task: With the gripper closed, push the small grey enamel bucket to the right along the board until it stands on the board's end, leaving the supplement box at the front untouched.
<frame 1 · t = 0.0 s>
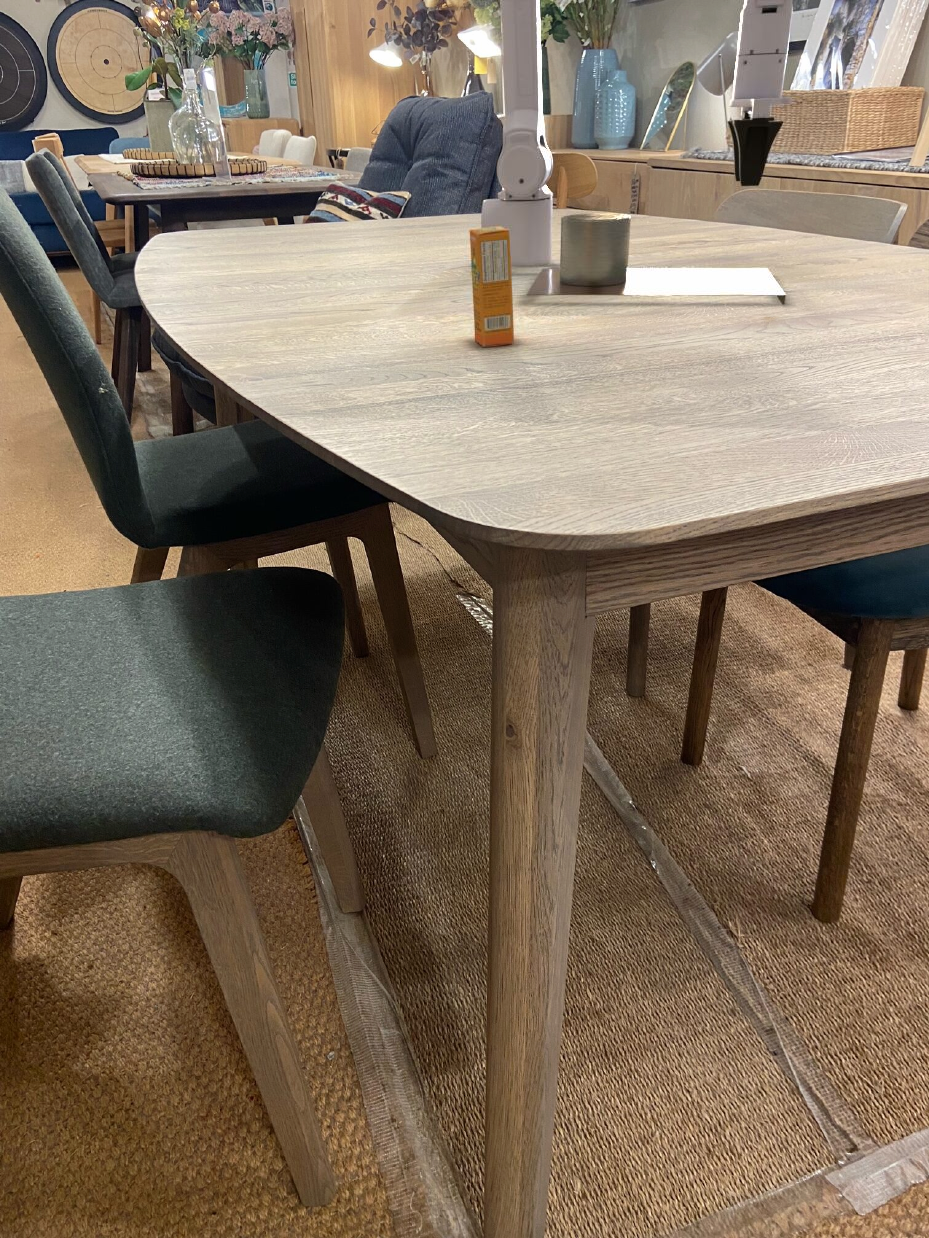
hand: (746, 183, 111), 10 cm above the table, tool pointing down, fingers open, 7 cm apart
supplement box: (492, 344, 84), on the table
board: (652, 289, 105), on the table
bucket: (593, 280, 106), point 1 cm above the table, touching board
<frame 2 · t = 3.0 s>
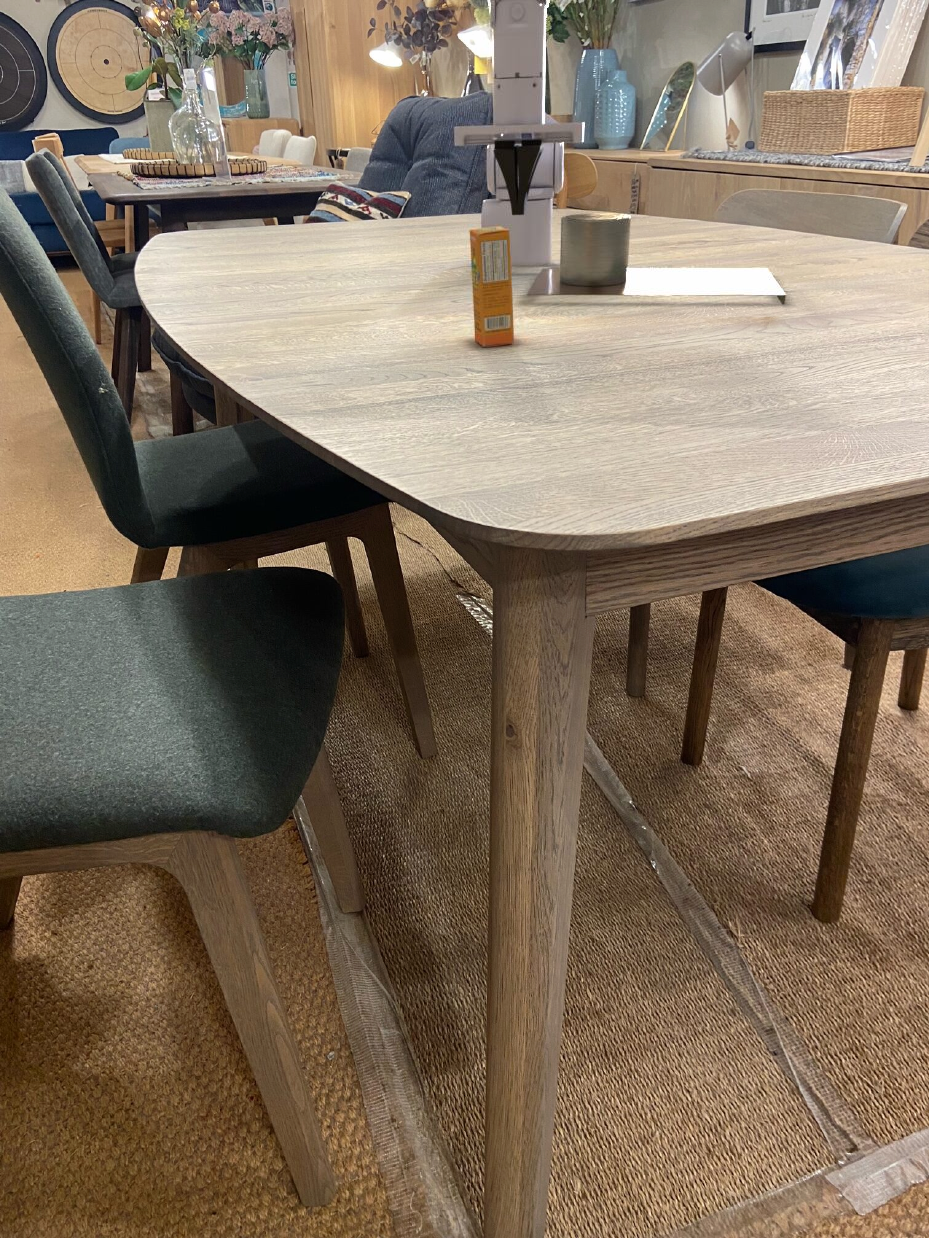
hand: (518, 214, 104), 8 cm above the table, tool pointing down, fingers closed
nothing on the table moved.
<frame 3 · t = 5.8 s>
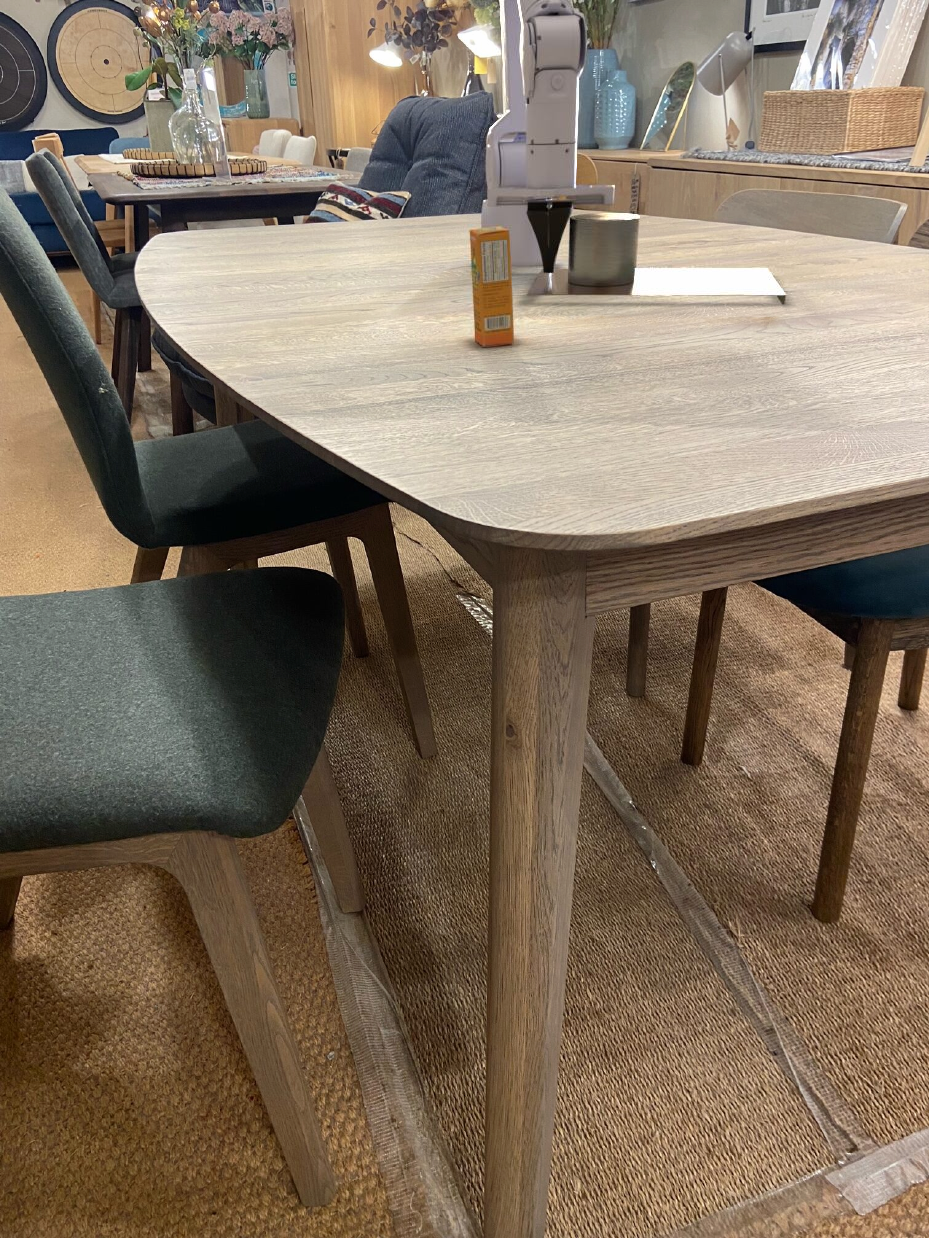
hand: (549, 271, 106), 2 cm above the table, tool pointing down, fingers closed
bucket: (601, 280, 106), point 1 cm above the table, touching board, gripper
everything else where it was.
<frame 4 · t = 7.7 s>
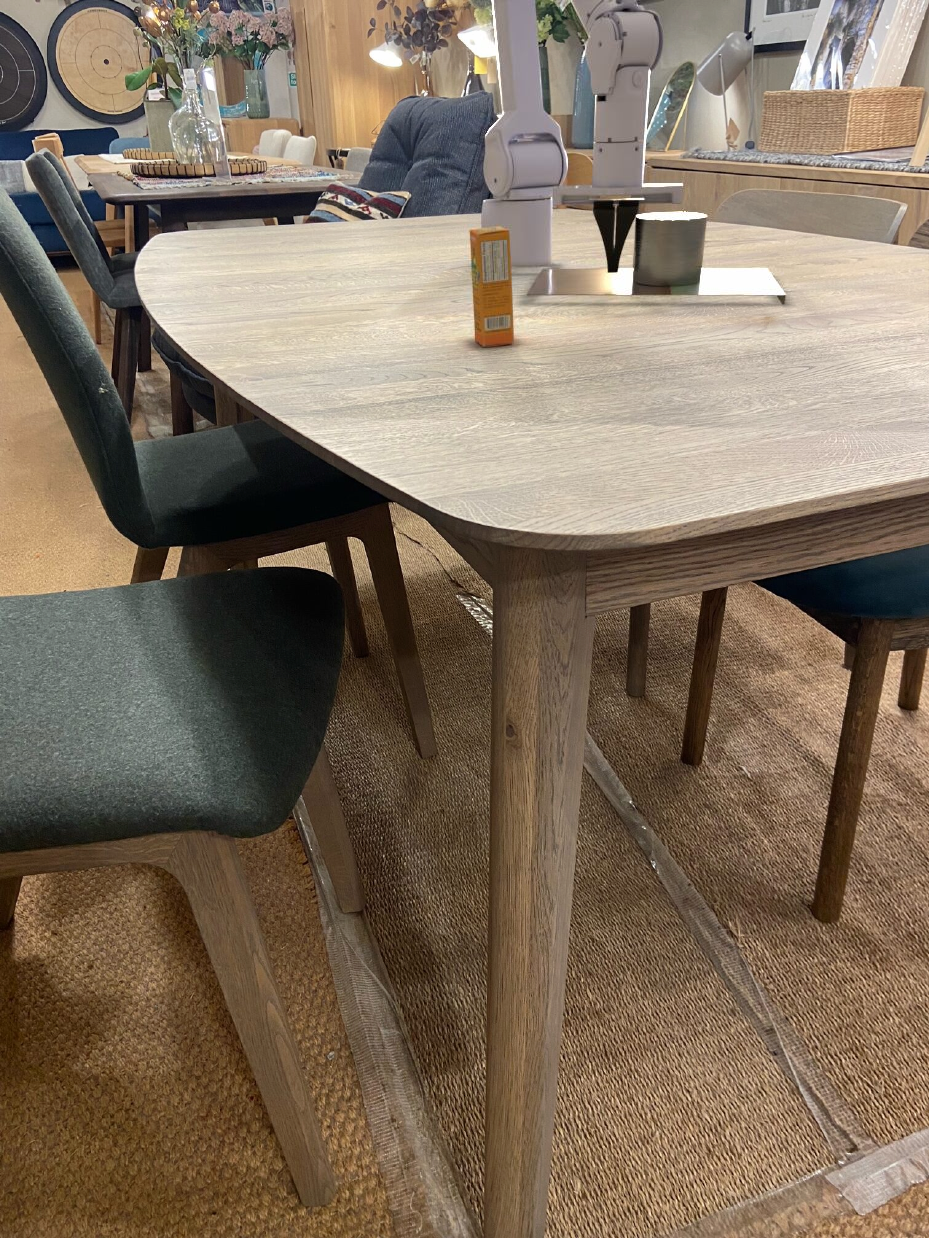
hand: (613, 271, 105), 2 cm above the table, tool pointing down, fingers closed
bucket: (666, 280, 105), point 1 cm above the table, touching gripper
everything else where it was.
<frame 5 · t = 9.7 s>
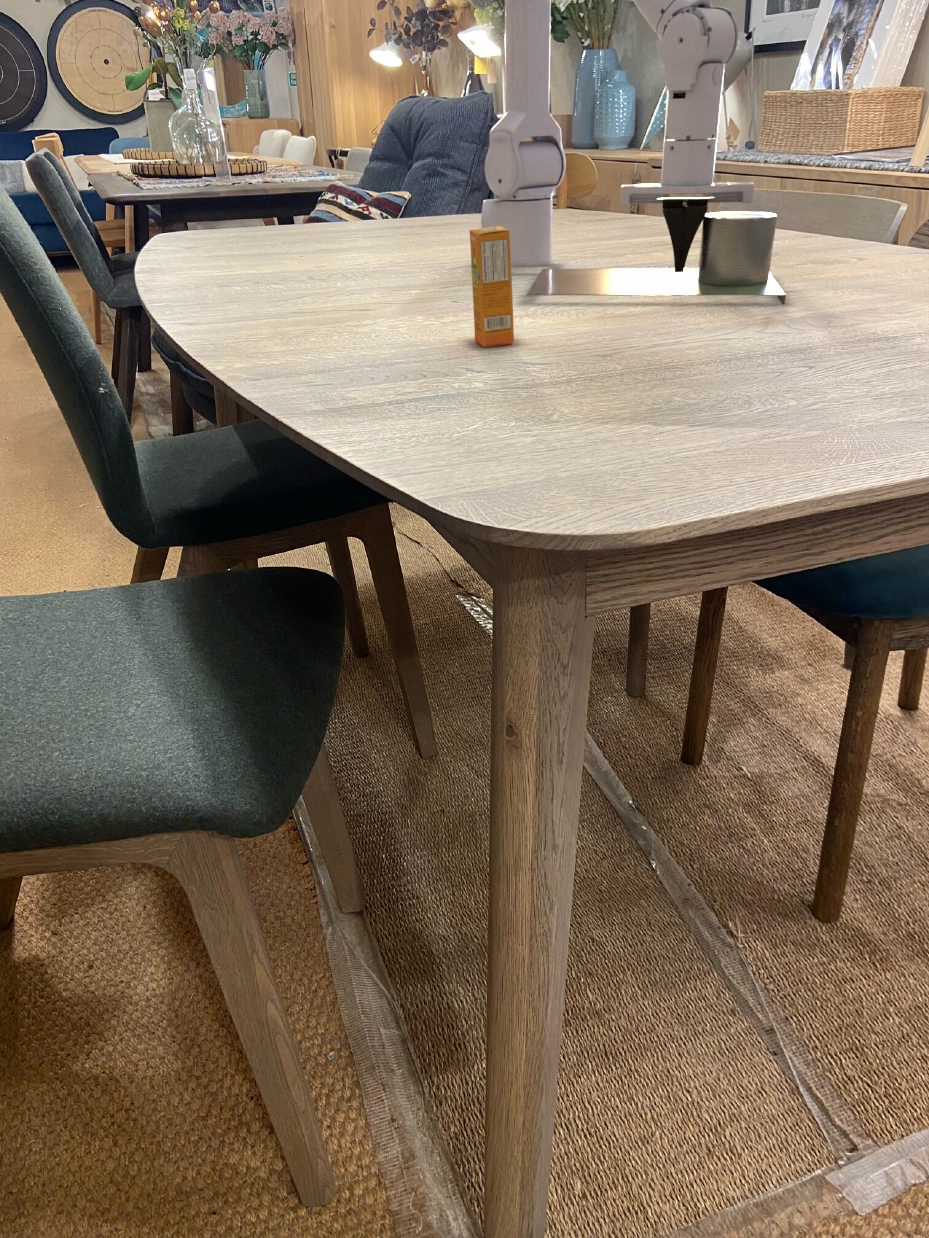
hand: (679, 271, 104), 2 cm above the table, tool pointing down, fingers closed
bucket: (732, 280, 103), point 1 cm above the table, touching board, gripper
everything else where it was.
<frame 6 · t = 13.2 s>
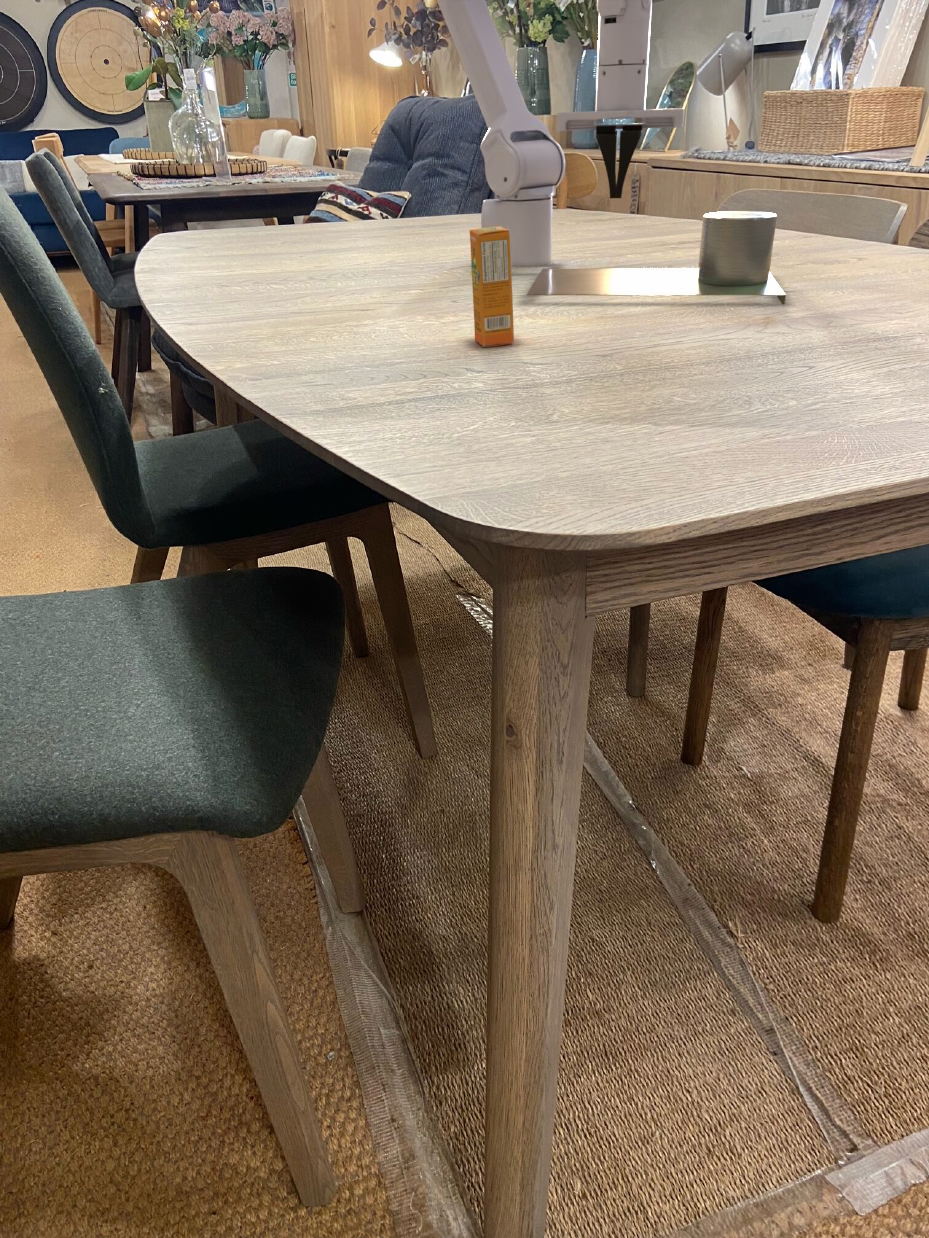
hand: (615, 197, 107), 9 cm above the table, tool pointing down, fingers closed
bucket: (732, 280, 103), point 1 cm above the table, touching board
everything else where it was.
at the end: bucket inside the target area on the board (0.6 cm from its centre), point 1.0 cm above the board's base; bucket tilted 0°; supplement box moved 0.2 cm from its start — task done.
